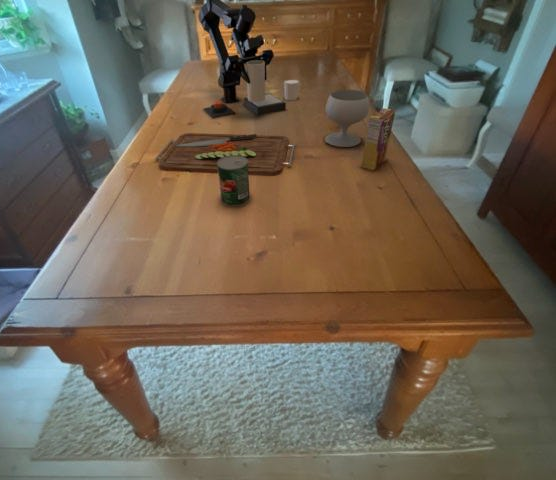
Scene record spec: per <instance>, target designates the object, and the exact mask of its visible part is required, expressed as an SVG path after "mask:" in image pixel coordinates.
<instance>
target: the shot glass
mask: <svg viewBox="0 0 556 480" xmlns="http://www.w3.org/2000/svg"><path fill="white" fill-rule="evenodd" d="M283 88H284V89H283V90H284V100H286V101H296V100H298V96H299V95H298V94H299V88H300V80H298V79H285V80H284V81H283Z"/></svg>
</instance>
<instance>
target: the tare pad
mask: <svg viewBox="0 0 556 480" xmlns="http://www.w3.org/2000/svg"><path fill="white" fill-rule="evenodd" d="M222 104H223V107H220V108H215V107H214V103H213V104H211V105H210V106H209V107H203V109H202V110H203V111H204V112H205V113H206V114H207V115H208V116H209V117H210V118H211V119H217V118H223V117H227V116H232V115H236V112H235V111H234V110H232V109H231V108H230V107H228V105H226V103H222Z"/></svg>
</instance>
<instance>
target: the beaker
mask: <svg viewBox="0 0 556 480" xmlns="http://www.w3.org/2000/svg"><path fill="white" fill-rule="evenodd" d="M245 66H246V67H245V69H246V72H247V75H248V77H249V80H250V83H249V84H248V83H247V82H246V90H247V97H248V101H250V102H262V101H264V100H265V94H266V80H265V62H264V61H261V60H252V61H248V62H246V64H245Z"/></svg>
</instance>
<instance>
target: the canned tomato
mask: <svg viewBox="0 0 556 480" xmlns="http://www.w3.org/2000/svg"><path fill="white" fill-rule="evenodd" d="M217 165H218V173H217V174H218V181H219V189H220V199H221V203H222V204H223V205H224V206H227V207H234V208H235V207H241V206H244V205H246V204H248V202H249V201H250V199H251V197H250V196H251V195H250V179H249V174H248V160H247V159H246V158H245V157H243V156H239V155H230V156H225V157H223V158H221V159H219V160H218V162H217Z"/></svg>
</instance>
